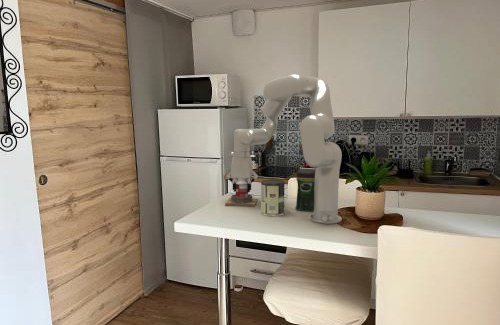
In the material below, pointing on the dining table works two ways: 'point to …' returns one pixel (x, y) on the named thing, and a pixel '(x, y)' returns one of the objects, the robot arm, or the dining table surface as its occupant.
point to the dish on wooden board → (241, 201)
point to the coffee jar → (305, 189)
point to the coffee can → (272, 197)
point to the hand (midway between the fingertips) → (241, 191)
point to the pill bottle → (241, 188)
